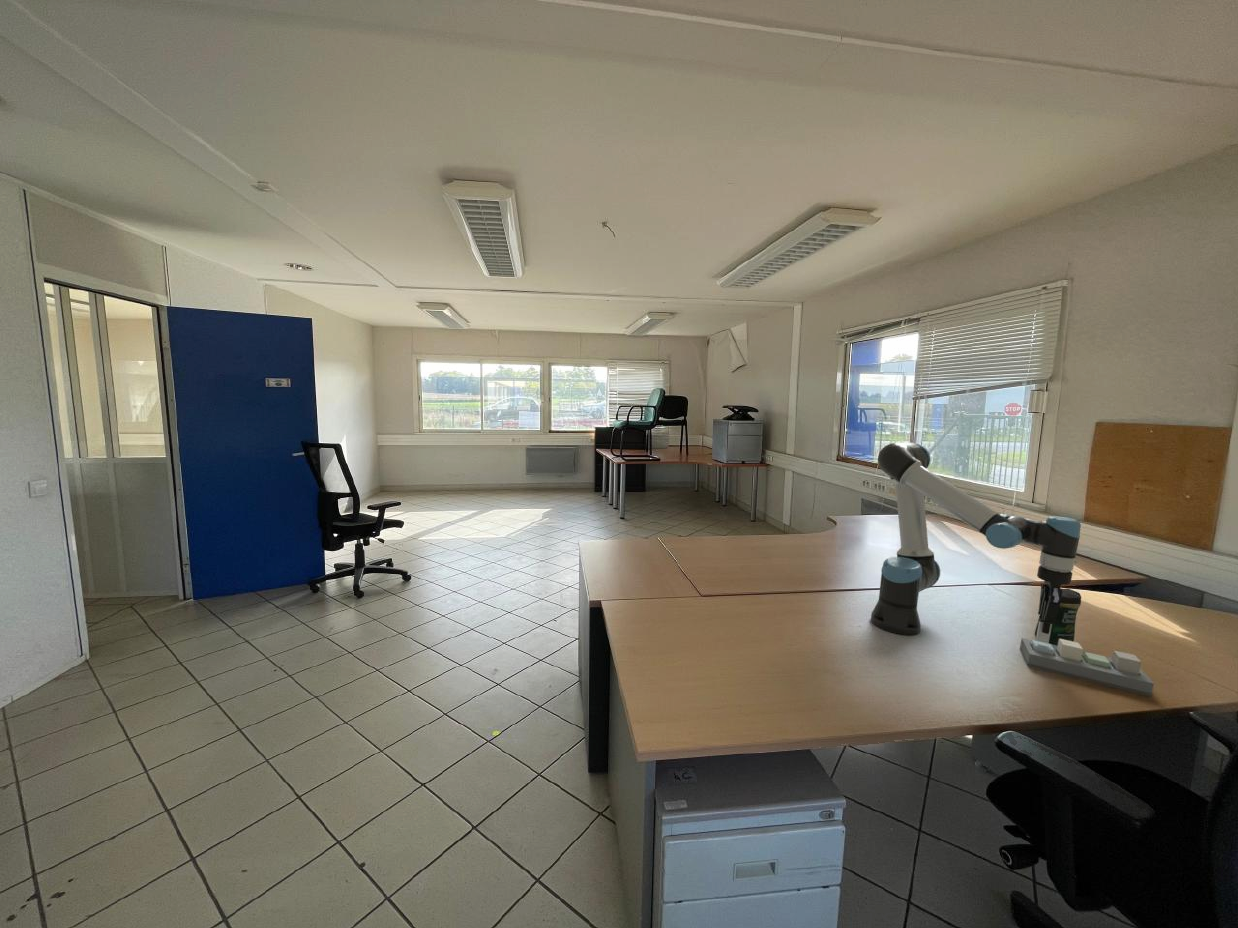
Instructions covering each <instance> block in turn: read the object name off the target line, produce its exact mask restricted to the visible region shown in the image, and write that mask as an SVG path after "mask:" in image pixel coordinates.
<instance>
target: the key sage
mask: <svg viewBox="0 0 1238 928" xmlns="http://www.w3.org/2000/svg"><path fill="white" fill-rule="evenodd" d="M1083 652H1084V656H1083V658H1084V660H1085V661H1086V663H1089V664H1093V665H1098V666H1102V667H1106V668H1109V665H1110V663H1109V661H1108V660H1107V659H1106V657H1107V656H1104V655H1101V654H1098V653H1097V654H1096V653H1091V652H1088V651H1087V652H1086V651H1083Z"/></svg>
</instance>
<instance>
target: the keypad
mask: <svg viewBox="0 0 1238 928" xmlns="http://www.w3.org/2000/svg"><path fill="white" fill-rule="evenodd" d="M1032 640H1033V639H1030V638H1025V637H1021V639H1020V644H1019V645H1020V646H1019V650H1020V653H1021V655H1022V657H1023V659H1024V662H1025V663H1026V664H1025V665H1027V667H1030V668H1033V669H1037V670H1042V671H1046V672H1050V673H1053V674H1056V675H1061V676H1064V677H1065V676H1066V677H1070V678H1074V679H1077V680H1081V681H1085V682H1089V683H1094V684H1098V685H1102V686H1104V687H1105V686H1106V687H1109V688H1114V689H1118V690H1122V691H1126V692H1130V693H1134V694H1138V695H1141V696H1147V697H1150V698H1152V695H1153V694H1152V693H1153V690H1154V684H1155V683H1154V682H1153V681H1152V679H1151V678H1150V677H1149V676H1148V675H1147V674H1146V673H1145V671H1143V669H1141V667H1140V671H1139V675H1136V674H1132V673H1127V672H1123V671H1119V670H1116V669H1115V667H1114V666H1113V665H1112V664H1111V661H1112V657H1109V656H1105V657H1106V659H1107V660H1108V661H1109V663H1110V665H1109V668H1106V667H1102V666H1098V665H1093V664H1089V663H1086V661H1085V660H1084V658H1083V656H1084V652H1085V651H1084V650H1083V651H1082V657H1081V661H1076V660H1072V659H1068V658H1063V657H1060V655H1059V653H1058V652H1057V647H1058V646H1057V645H1052V644H1051V645H1052V647H1053V649H1054V655H1051V654H1046V653H1042V652H1038V651H1034V650H1033V649H1032V647H1031V644H1032Z"/></svg>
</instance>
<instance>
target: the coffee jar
mask: <svg viewBox="0 0 1238 928" xmlns="http://www.w3.org/2000/svg"><path fill="white" fill-rule="evenodd" d="M1061 589H1062V595H1061V596H1060V597H1062V599H1063V600H1062V602H1061V604H1060V607H1059V611H1058V614H1057V618H1056V621H1055V624H1052V628H1051V633H1050V638H1049V644H1052V645H1056V646H1058V641H1059V639H1064V640H1068V641H1073V642H1075V633H1076V631H1075V630H1076V622H1077V621H1076V620H1077V614H1078V611H1079V608H1080V607H1081V605H1082V596H1081V593H1080V592H1078V591H1076V590H1073V589H1070V588H1068V587H1067V588H1066V587H1065V588H1062V587H1061ZM1038 619H1040V618H1039V617H1038ZM1038 624H1039V621H1038V620H1037V623H1036V626H1035V627H1036V628H1035V631H1034V636H1035V637H1036V635H1037V630H1038Z"/></svg>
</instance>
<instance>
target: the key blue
mask: <svg viewBox="0 0 1238 928" xmlns="http://www.w3.org/2000/svg"><path fill="white" fill-rule="evenodd" d="M1031 640H1032V644H1031V647H1032V649H1033V650H1034V651H1038V652H1042V653H1046V654H1051V655H1054V649H1053V647H1052V645H1051V644H1048V643H1043V642H1039V641H1037V640H1033V639H1031Z"/></svg>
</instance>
